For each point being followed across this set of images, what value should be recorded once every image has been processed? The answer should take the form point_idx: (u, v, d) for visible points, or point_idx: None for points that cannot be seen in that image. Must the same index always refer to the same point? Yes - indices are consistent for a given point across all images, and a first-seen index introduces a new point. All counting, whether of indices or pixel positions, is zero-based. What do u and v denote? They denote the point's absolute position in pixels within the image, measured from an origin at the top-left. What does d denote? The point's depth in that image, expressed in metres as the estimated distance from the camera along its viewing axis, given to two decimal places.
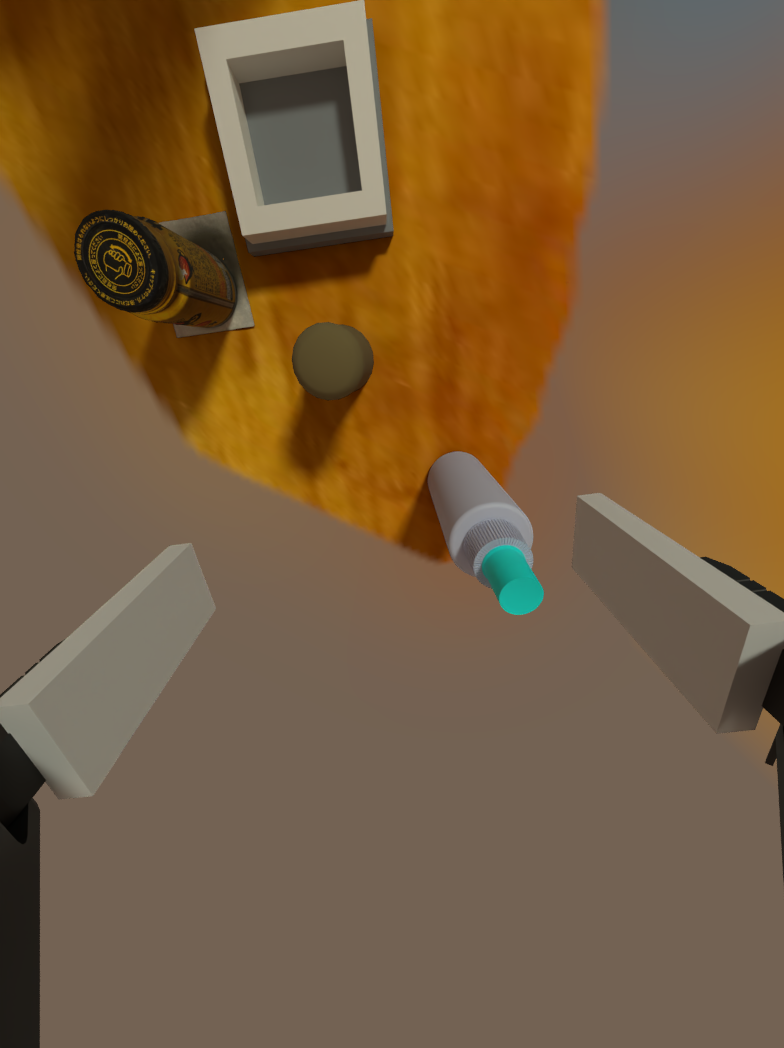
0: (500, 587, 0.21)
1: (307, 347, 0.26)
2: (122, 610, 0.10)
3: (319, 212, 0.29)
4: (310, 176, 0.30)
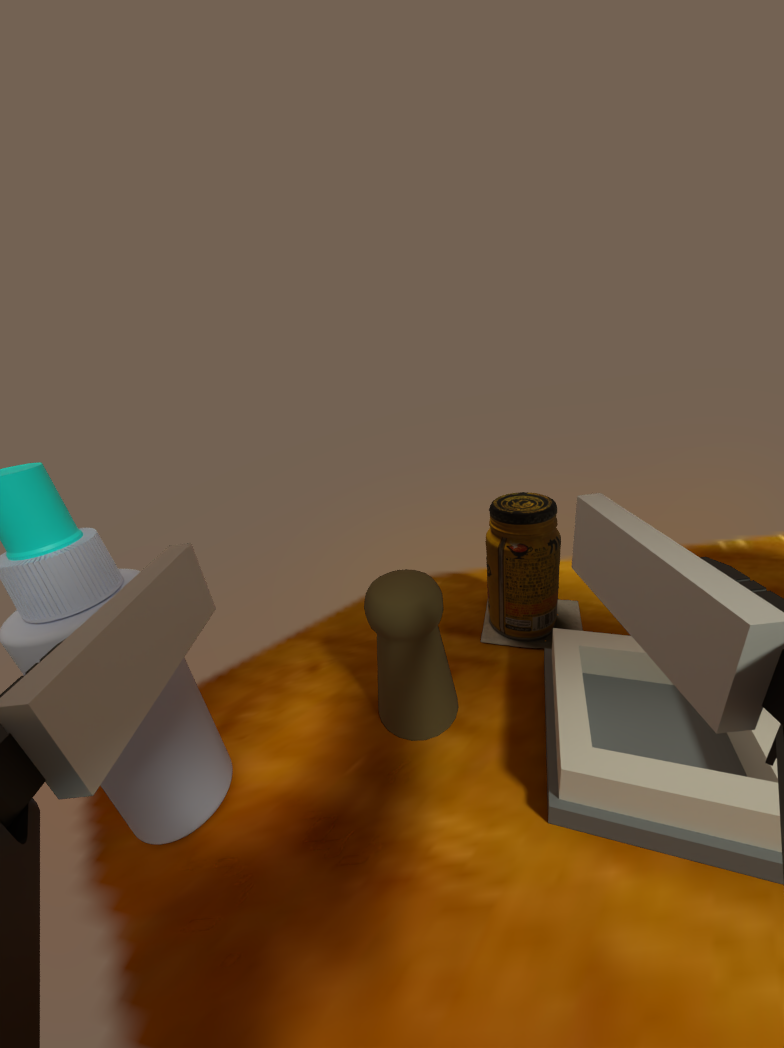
0: (44, 469, 0.17)
1: (421, 576, 0.25)
2: (122, 610, 0.10)
3: (569, 694, 0.24)
4: (618, 725, 0.24)
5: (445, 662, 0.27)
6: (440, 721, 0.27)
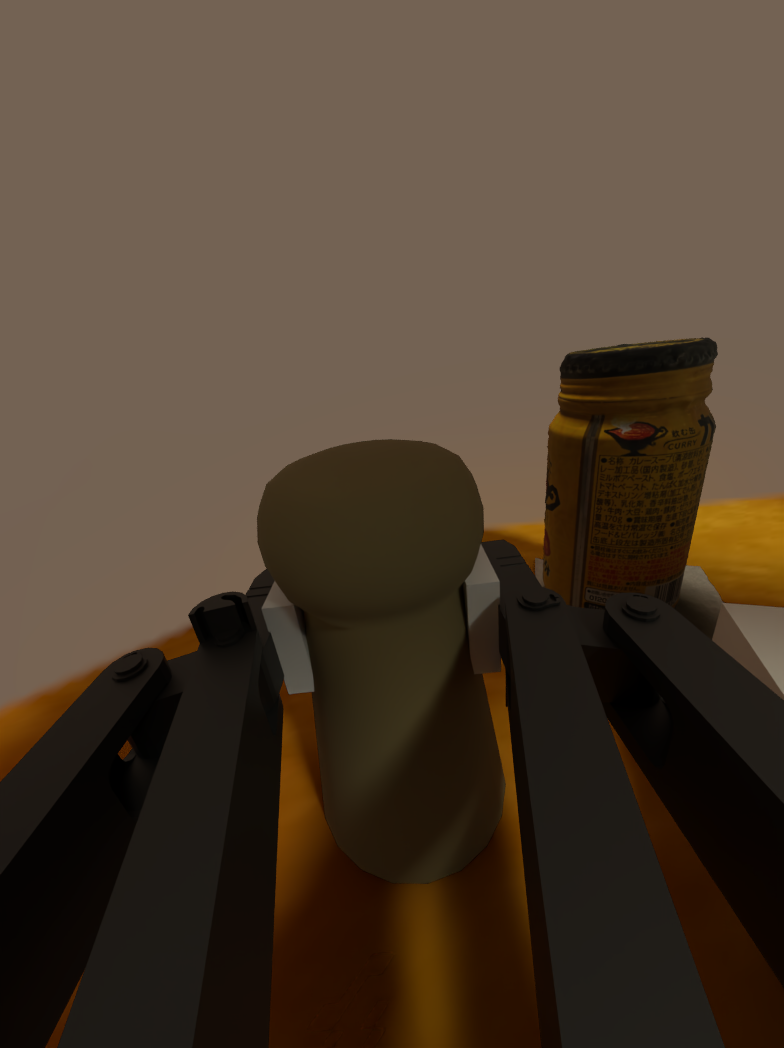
0: None
1: (422, 442, 0.09)
2: None
3: None
4: None
5: (481, 682, 0.10)
6: (468, 835, 0.10)
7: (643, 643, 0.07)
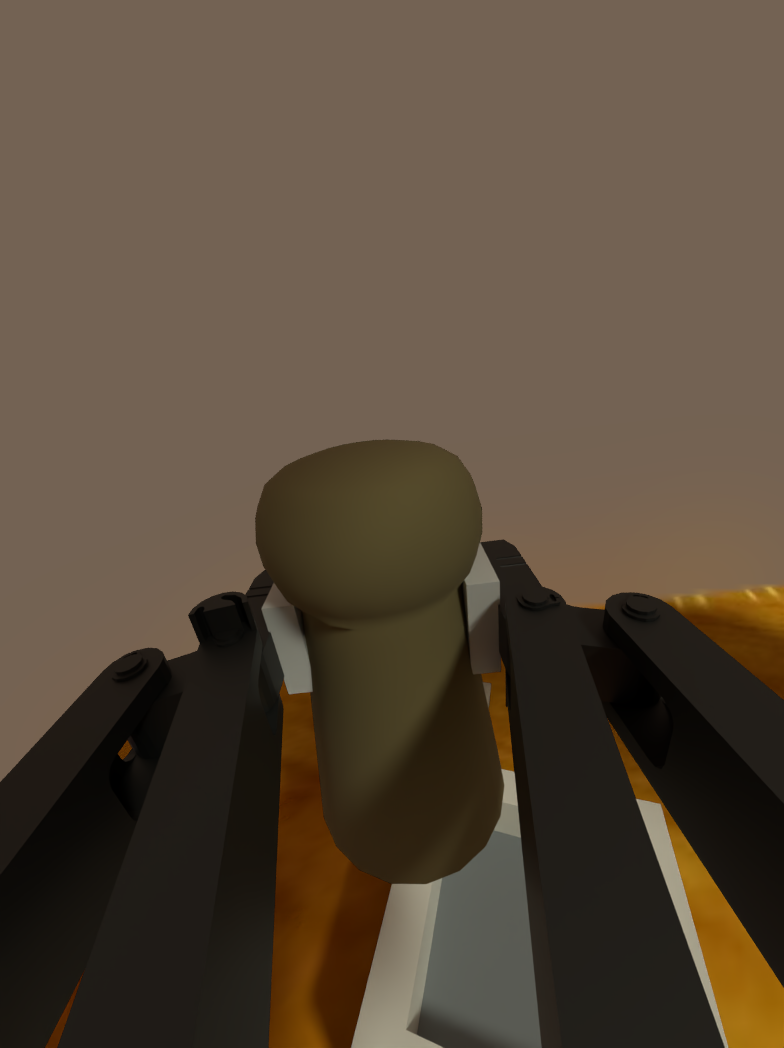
0: None
1: (420, 443, 0.09)
2: None
3: (407, 893, 0.16)
4: (484, 934, 0.16)
5: (480, 682, 0.10)
6: (466, 835, 0.10)
7: (643, 643, 0.07)
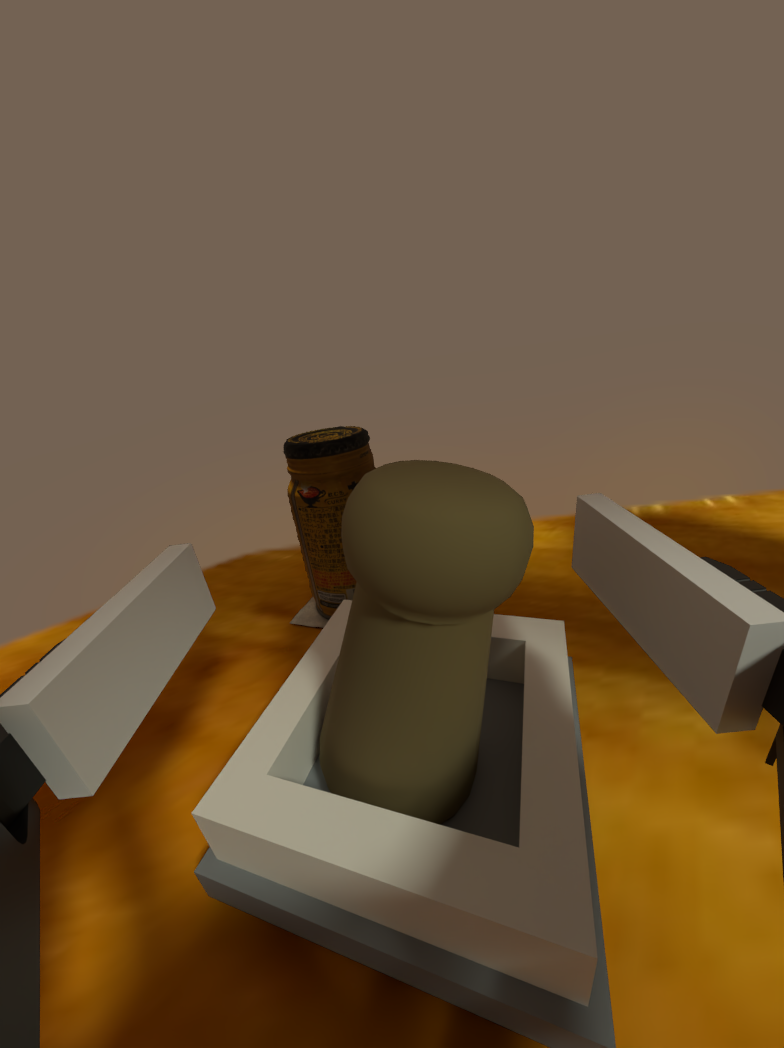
0: None
1: (493, 478, 0.11)
2: (122, 610, 0.10)
3: (296, 689, 0.16)
4: None
5: (485, 684, 0.12)
6: (443, 803, 0.12)
7: None
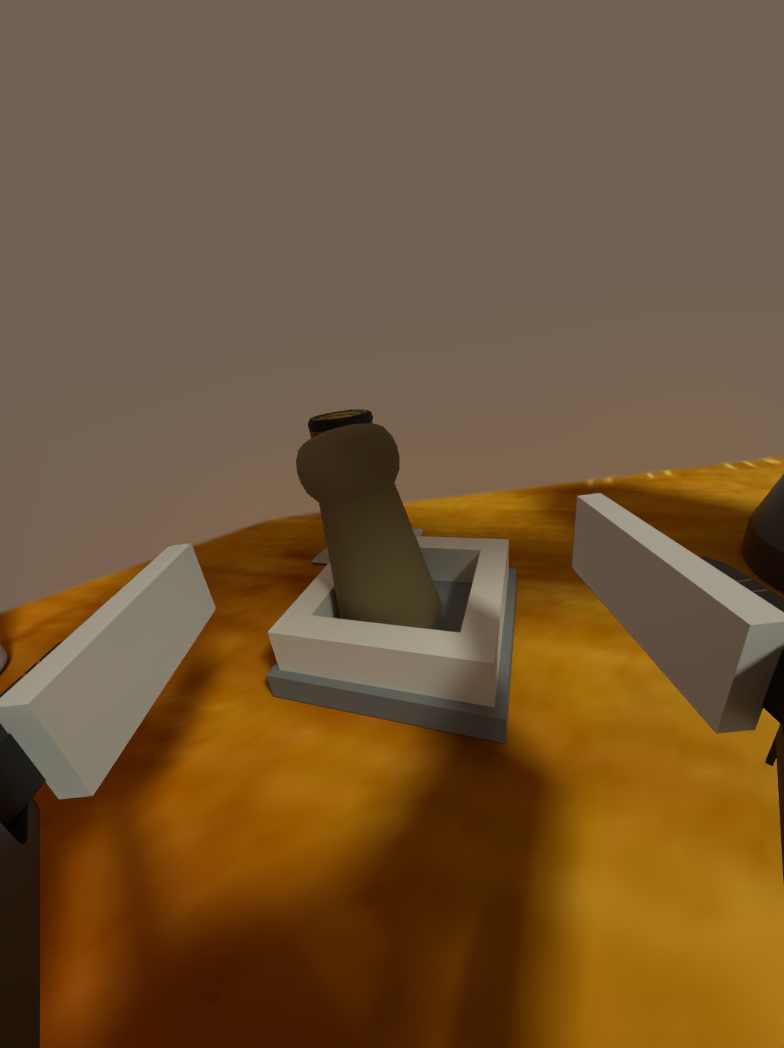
0: None
1: None
2: (122, 610, 0.10)
3: (325, 579, 0.23)
4: None
5: (412, 544, 0.20)
6: (408, 623, 0.20)
7: None
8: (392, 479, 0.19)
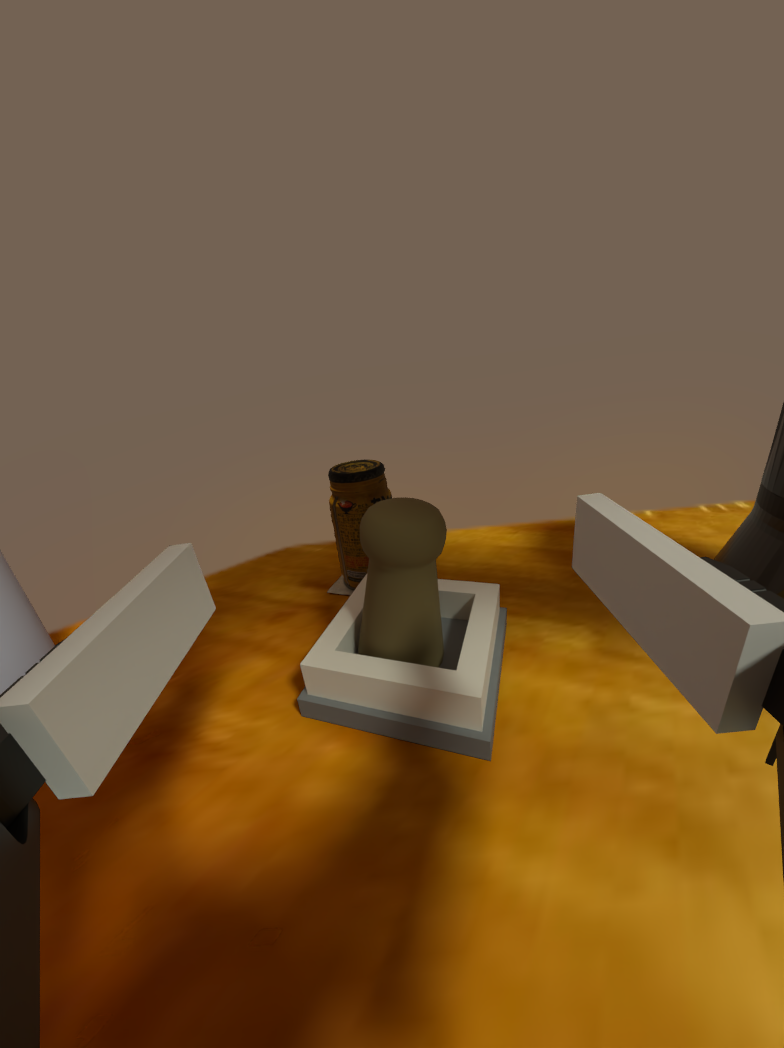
0: None
1: (428, 505, 0.23)
2: (122, 610, 0.10)
3: (344, 616, 0.28)
4: None
5: (436, 607, 0.24)
6: None
7: None
8: None
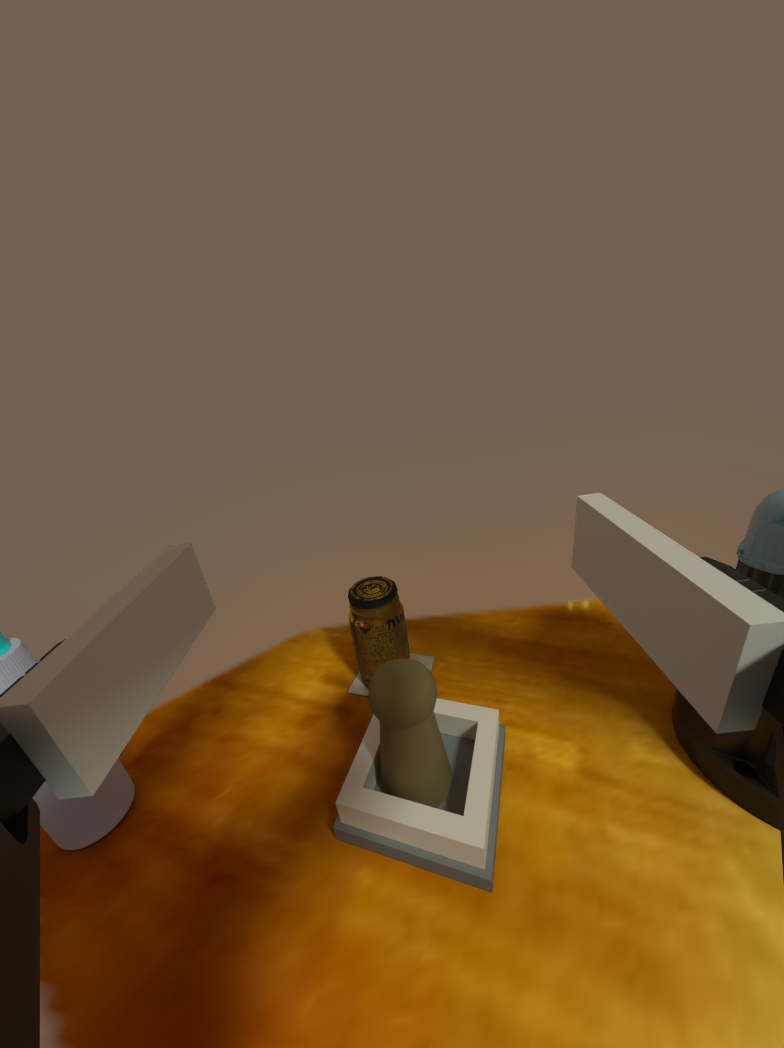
0: None
1: (419, 670, 0.29)
2: (122, 610, 0.10)
3: (368, 745, 0.33)
4: None
5: (437, 748, 0.30)
6: (428, 801, 0.30)
7: None
8: (430, 713, 0.28)
